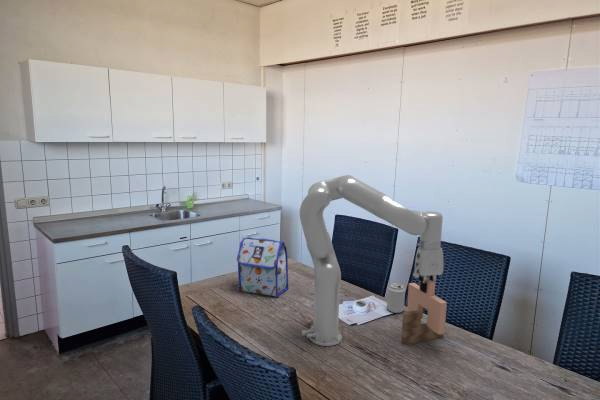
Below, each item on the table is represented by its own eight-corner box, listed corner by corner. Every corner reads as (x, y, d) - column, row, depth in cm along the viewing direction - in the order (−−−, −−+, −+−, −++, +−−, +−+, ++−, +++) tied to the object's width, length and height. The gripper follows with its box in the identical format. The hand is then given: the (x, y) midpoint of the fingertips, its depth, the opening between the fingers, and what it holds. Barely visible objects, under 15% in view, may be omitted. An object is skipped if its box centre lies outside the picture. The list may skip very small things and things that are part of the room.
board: (404, 344, 153) (406, 314, 151) (401, 341, 155) (403, 312, 153) (443, 337, 159) (445, 308, 157) (440, 334, 161) (442, 306, 159)
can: (404, 314, 178) (405, 289, 176) (386, 312, 180) (388, 287, 178) (403, 307, 185) (405, 282, 183) (386, 306, 187) (388, 281, 185)
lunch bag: (234, 293, 198) (233, 240, 193) (249, 282, 213) (249, 232, 209) (276, 300, 190) (277, 246, 186) (289, 288, 206) (290, 237, 201)
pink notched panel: (444, 333, 147) (447, 289, 144) (438, 334, 146) (442, 290, 143) (412, 310, 166) (414, 271, 163) (407, 311, 165) (409, 271, 162)
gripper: (417, 249, 145) (414, 297, 148) (454, 245, 150) (450, 292, 153) (405, 243, 152) (402, 290, 155) (441, 240, 157) (438, 285, 160)
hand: (426, 290), depth 154 cm, fingers closed on pink notched panel, 2 cm apart
